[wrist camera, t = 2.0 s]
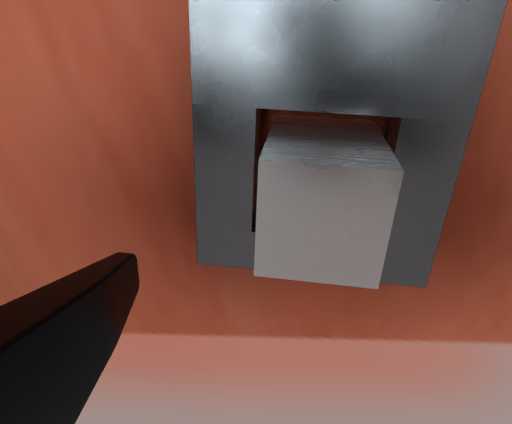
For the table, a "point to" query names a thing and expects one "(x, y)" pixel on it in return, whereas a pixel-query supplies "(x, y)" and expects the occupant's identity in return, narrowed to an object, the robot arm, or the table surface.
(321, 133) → the grey metal block
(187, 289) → the table surface
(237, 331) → the table surface
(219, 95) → the grey board with holes
